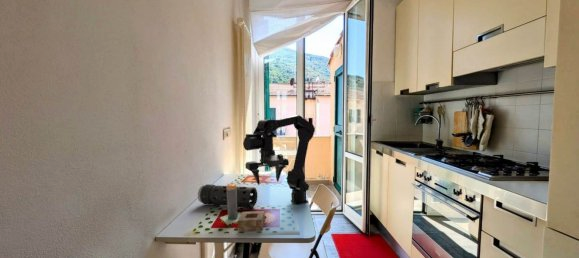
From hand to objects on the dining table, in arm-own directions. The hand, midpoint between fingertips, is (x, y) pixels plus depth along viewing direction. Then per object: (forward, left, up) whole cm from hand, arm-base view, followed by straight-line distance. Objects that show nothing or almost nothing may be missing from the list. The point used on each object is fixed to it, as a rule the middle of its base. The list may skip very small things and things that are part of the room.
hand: (268, 182), depth 116 cm
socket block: (+12, +10, -13) cm, 20 cm away
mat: (+16, -1, -13) cm, 21 cm away
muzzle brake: (+14, -18, -13) cm, 27 cm away
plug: (+16, -1, -12) cm, 21 cm away
